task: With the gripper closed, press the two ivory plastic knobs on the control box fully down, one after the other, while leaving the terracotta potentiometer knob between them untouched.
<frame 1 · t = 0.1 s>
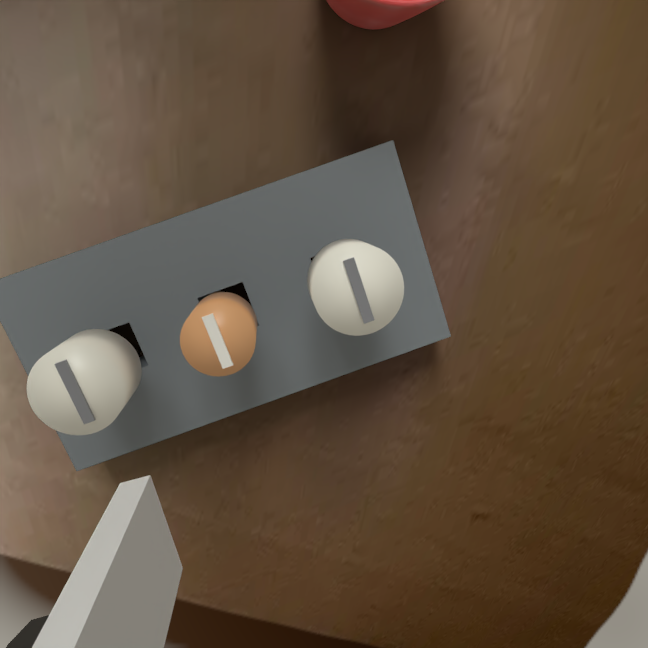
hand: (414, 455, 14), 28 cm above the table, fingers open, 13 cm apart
knob 2: (348, 280, 33), point 8 cm above the table, slide at 0.0 cm
knob 1: (98, 370, 33), point 8 cm above the table, slide at 0.0 cm
pot knob: (223, 325, 33), point 8 cm above the table, slide at 0.0 cm
control box: (232, 301, 40), on the table
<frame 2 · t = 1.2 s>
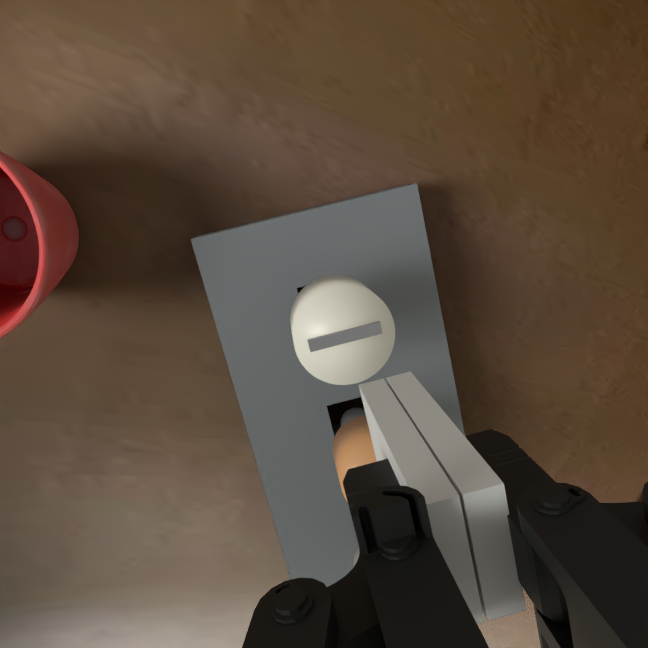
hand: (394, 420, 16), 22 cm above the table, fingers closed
knob 2: (335, 319, 30), point 8 cm above the table, slide at 0.0 cm
knob 1: (393, 562, 34), point 8 cm above the table, slide at 0.0 cm
pot knob: (366, 448, 32), point 8 cm above the table, slide at 0.0 cm
flower pot: (20, 230, 35), on the table
control box: (347, 400, 40), on the table
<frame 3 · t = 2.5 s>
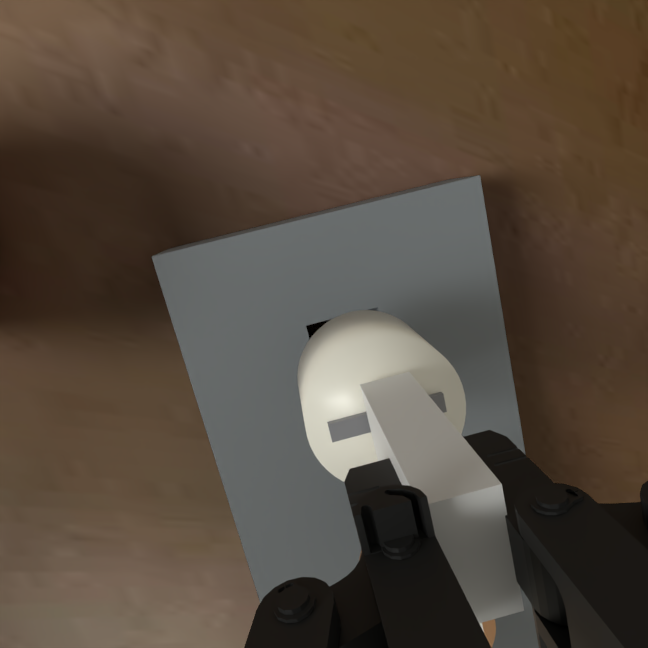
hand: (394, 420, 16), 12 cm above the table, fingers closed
knob 2: (364, 376, 20), point 8 cm above the table, slide at 0.4 cm, touching gripper
pot knob: (408, 563, 22), point 8 cm above the table, slide at 0.0 cm
control box: (371, 468, 29), on the table
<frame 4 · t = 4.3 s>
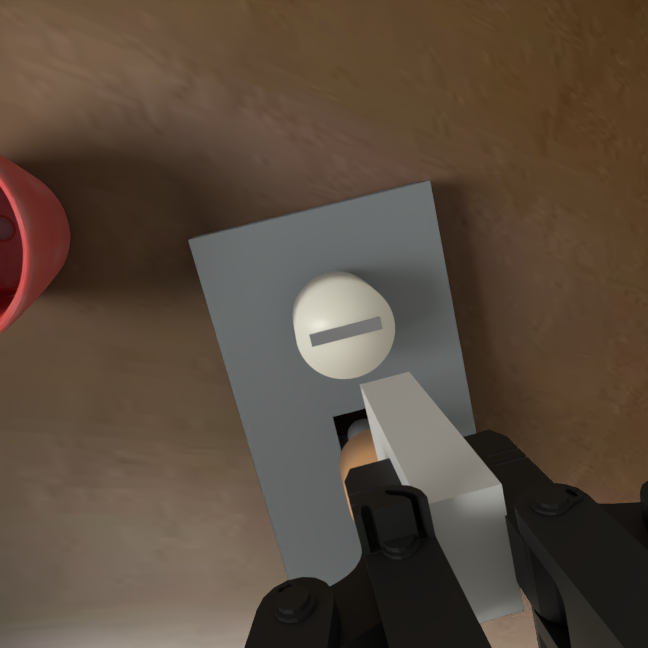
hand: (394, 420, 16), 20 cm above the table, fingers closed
knob 2: (336, 315, 31), point 5 cm above the table, slide at 2.8 cm
pot knob: (375, 464, 30), point 8 cm above the table, slide at 0.0 cm
flower pot: (8, 230, 33), on the table
control box: (353, 409, 38), on the table
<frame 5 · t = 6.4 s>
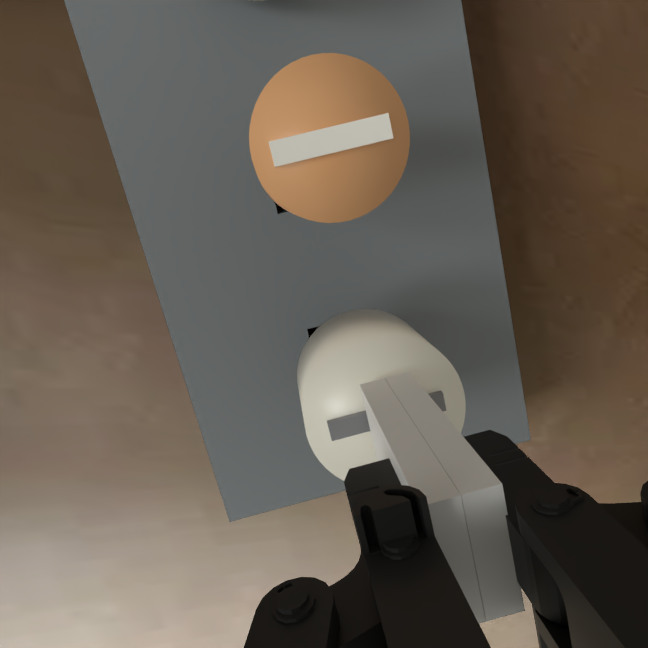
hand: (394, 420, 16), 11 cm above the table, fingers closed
knob 1: (364, 375, 20), point 7 cm above the table, slide at 1.3 cm, touching gripper
pot knob: (316, 154, 17), point 8 cm above the table, slide at 0.0 cm
control box: (301, 169, 25), on the table
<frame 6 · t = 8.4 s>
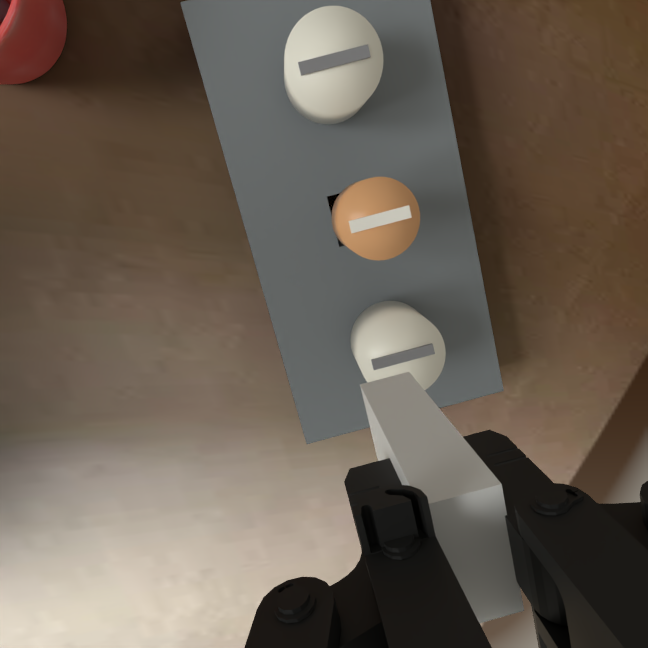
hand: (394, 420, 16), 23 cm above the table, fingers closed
knob 2: (327, 77, 31), point 5 cm above the table, slide at 2.8 cm
knob 1: (389, 339, 35), point 5 cm above the table, slide at 2.8 cm
pot knob: (367, 217, 30), point 8 cm above the table, slide at 0.0 cm
flower pot: (6, 18, 34), on the table
control box: (350, 214, 38), on the table
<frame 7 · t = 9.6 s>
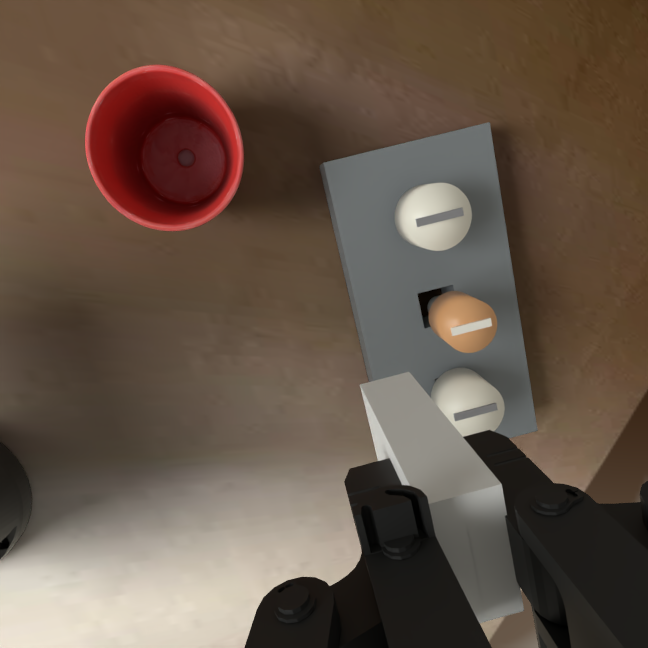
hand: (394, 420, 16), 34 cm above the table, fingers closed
knob 2: (425, 216, 44), point 5 cm above the table, slide at 2.8 cm
knob 1: (459, 395, 48), point 5 cm above the table, slide at 2.8 cm
pot knob: (453, 316, 43), point 8 cm above the table, slide at 0.0 cm
flower pot: (186, 161, 47), on the table
control box: (425, 298, 51), on the table
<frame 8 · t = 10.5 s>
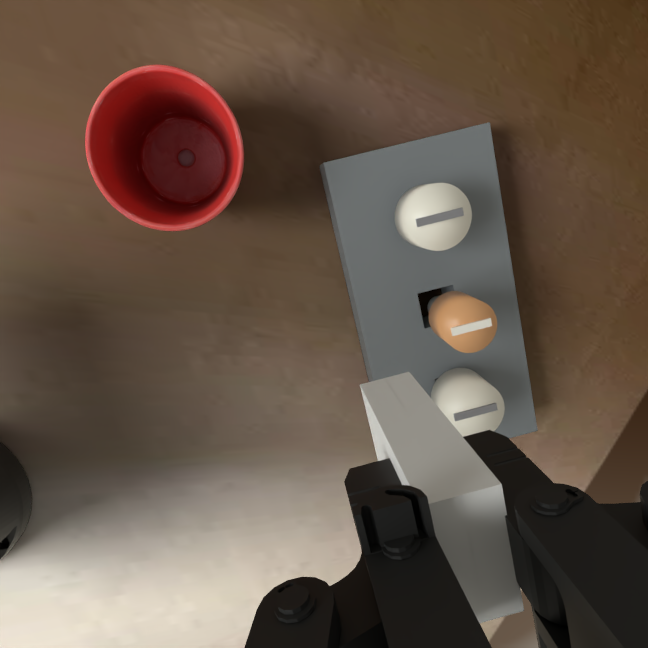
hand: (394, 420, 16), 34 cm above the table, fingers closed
knob 2: (425, 216, 44), point 5 cm above the table, slide at 2.8 cm
knob 1: (459, 395, 48), point 5 cm above the table, slide at 2.8 cm
pot knob: (453, 316, 43), point 8 cm above the table, slide at 0.0 cm
flower pot: (186, 161, 47), on the table
control box: (425, 298, 51), on the table
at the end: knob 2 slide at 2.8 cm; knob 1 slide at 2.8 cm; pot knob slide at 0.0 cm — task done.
